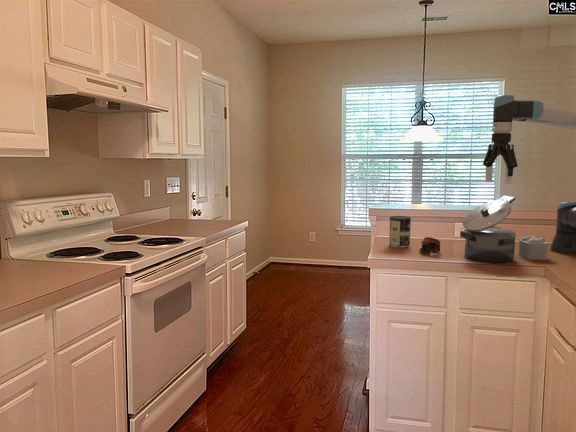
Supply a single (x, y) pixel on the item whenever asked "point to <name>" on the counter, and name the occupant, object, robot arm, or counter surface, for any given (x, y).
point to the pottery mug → (430, 245)
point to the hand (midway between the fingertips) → (498, 183)
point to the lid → (488, 214)
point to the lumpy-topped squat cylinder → (533, 248)
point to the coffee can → (399, 231)
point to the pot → (489, 245)
